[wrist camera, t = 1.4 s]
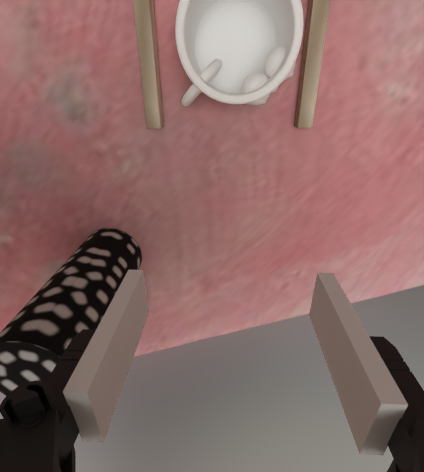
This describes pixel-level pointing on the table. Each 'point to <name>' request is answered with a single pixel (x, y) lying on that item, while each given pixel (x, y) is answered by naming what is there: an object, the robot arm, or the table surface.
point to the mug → (237, 47)
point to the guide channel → (308, 72)
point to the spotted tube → (65, 307)
